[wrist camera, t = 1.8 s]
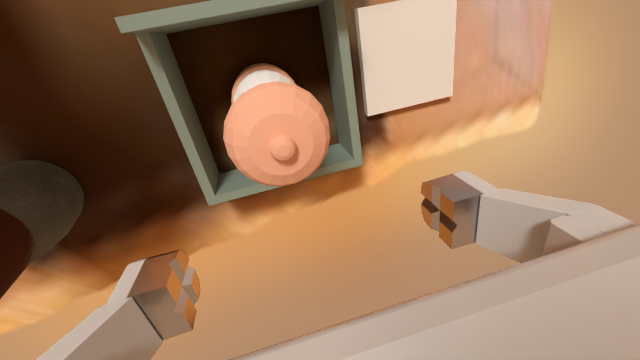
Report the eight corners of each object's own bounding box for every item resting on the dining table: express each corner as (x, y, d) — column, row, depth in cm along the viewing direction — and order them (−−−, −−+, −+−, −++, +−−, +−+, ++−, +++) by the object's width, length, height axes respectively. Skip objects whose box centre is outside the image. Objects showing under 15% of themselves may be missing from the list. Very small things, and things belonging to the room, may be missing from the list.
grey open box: (214, 182, 36) (205, 220, 29) (151, 24, 28) (114, 17, 20) (347, 148, 39) (372, 175, 31) (325, -8, 30) (353, -25, 22)
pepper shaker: (307, 89, 34) (366, 134, 17) (273, 137, 36) (296, 222, 19) (255, 48, 31) (265, 55, 14) (220, 103, 33) (192, 168, 16)
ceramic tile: (365, 114, 37) (367, 116, 36) (354, 9, 32) (357, 8, 31) (447, 94, 39) (452, 95, 38) (451, -10, 33) (457, -11, 32)
